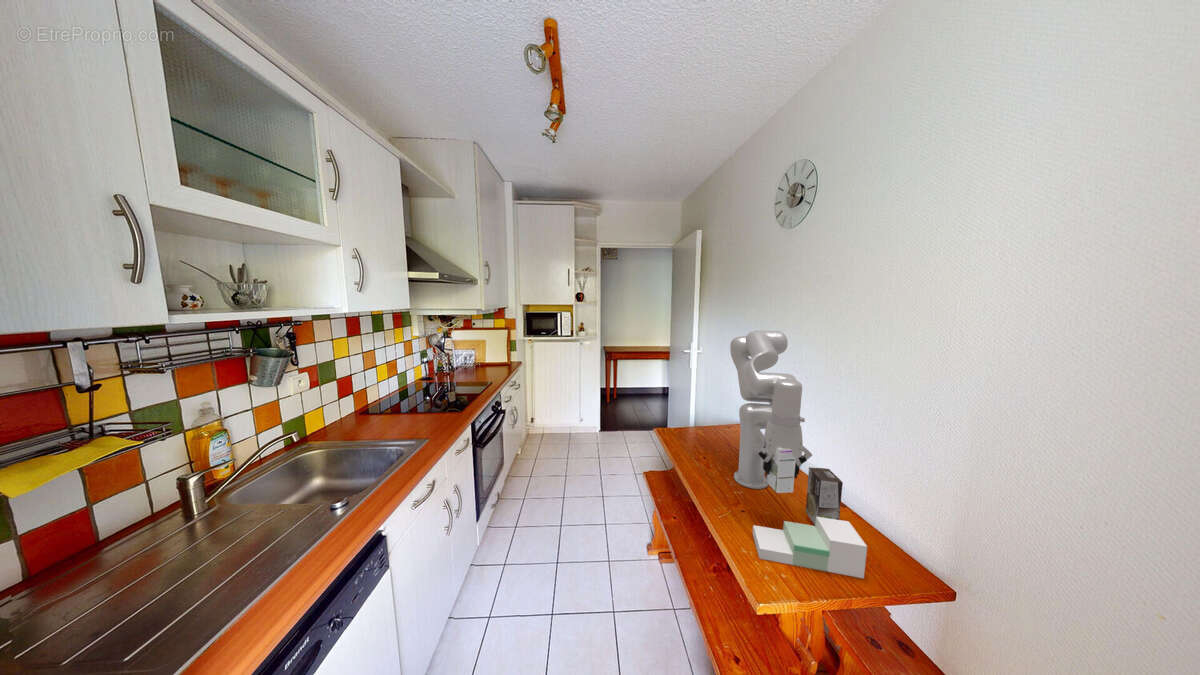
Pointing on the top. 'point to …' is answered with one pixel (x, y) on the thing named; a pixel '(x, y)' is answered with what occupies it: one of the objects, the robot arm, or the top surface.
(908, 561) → the top surface
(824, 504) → the coffee box
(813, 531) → the stepped riser
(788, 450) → the syrup box
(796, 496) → the top surface
